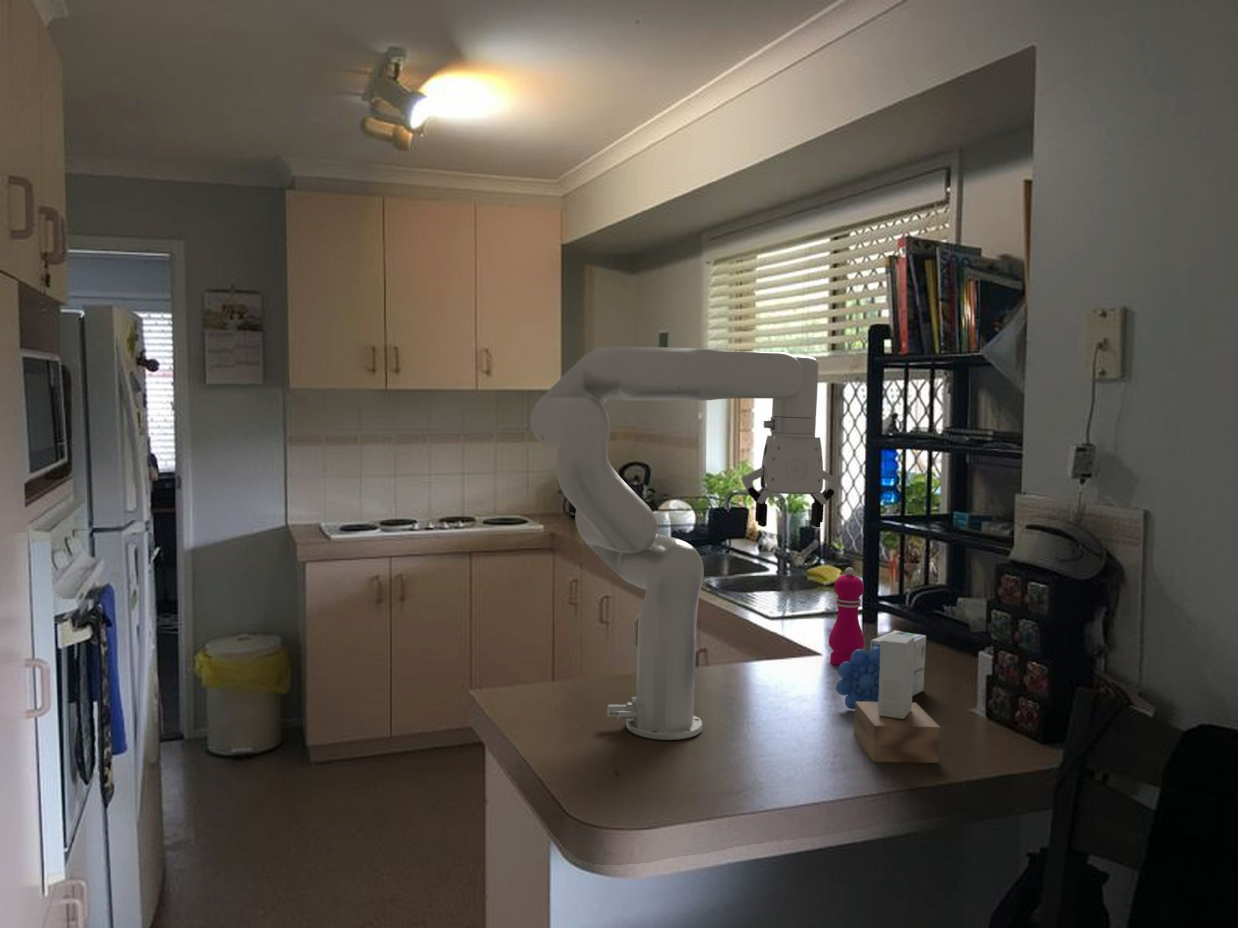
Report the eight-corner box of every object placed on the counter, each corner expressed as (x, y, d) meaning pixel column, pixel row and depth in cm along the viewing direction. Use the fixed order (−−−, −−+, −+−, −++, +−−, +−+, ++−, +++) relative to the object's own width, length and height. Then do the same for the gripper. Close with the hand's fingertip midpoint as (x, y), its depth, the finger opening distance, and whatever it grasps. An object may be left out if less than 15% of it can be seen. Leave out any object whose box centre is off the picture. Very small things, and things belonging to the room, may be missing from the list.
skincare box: (885, 706, 168) (888, 632, 167) (912, 710, 166) (915, 636, 165) (876, 715, 162) (879, 639, 162) (904, 719, 161) (907, 643, 160)
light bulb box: (891, 683, 201) (894, 628, 200) (924, 691, 196) (927, 635, 195) (866, 695, 192) (869, 638, 191) (900, 703, 188) (903, 645, 187)
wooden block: (873, 763, 159) (874, 725, 158) (853, 736, 171) (855, 701, 170) (938, 765, 159) (940, 726, 158) (913, 738, 171) (915, 702, 170)
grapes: (907, 713, 182) (910, 646, 182) (896, 723, 177) (899, 654, 176) (843, 701, 188) (846, 636, 188) (830, 710, 183) (833, 643, 182)
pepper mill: (851, 657, 219) (855, 563, 218) (870, 666, 212) (874, 569, 211) (821, 659, 217) (825, 564, 215) (839, 668, 210) (843, 571, 208)
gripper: (750, 427, 174) (746, 528, 176) (849, 430, 177) (844, 529, 178) (739, 425, 182) (734, 522, 183) (833, 428, 184) (828, 524, 186)
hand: (788, 526), depth 181 cm, fingers open, 9 cm apart
